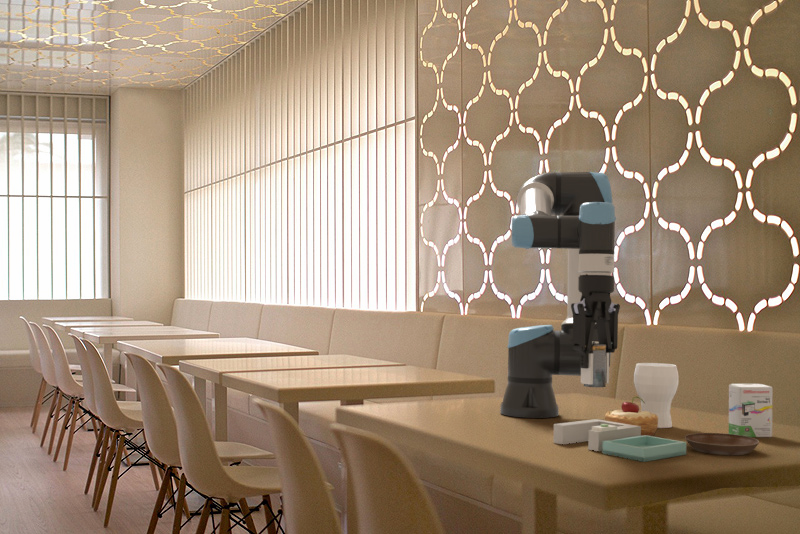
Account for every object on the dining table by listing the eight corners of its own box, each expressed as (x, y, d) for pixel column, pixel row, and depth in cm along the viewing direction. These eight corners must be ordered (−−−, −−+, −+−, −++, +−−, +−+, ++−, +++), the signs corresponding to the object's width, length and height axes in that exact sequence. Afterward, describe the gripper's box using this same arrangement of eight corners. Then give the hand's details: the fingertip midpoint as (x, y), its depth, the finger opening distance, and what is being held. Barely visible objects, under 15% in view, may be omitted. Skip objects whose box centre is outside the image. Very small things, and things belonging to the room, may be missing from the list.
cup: (680, 430, 213) (681, 367, 214) (634, 428, 215) (635, 365, 216) (675, 423, 224) (676, 363, 224) (632, 421, 226) (632, 362, 226)
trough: (602, 453, 181) (602, 441, 181) (645, 446, 189) (645, 435, 190) (643, 461, 173) (643, 448, 173) (686, 454, 182) (686, 442, 182)
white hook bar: (553, 442, 193) (553, 418, 193) (595, 436, 201) (596, 414, 201) (598, 451, 183) (598, 426, 183) (640, 445, 192) (641, 421, 192)
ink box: (739, 437, 204) (740, 386, 204) (727, 434, 209) (728, 383, 209) (773, 437, 206) (773, 385, 206) (760, 433, 211) (761, 383, 211)
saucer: (719, 460, 178) (719, 446, 178) (669, 447, 191) (669, 434, 191) (775, 455, 184) (775, 442, 184) (722, 443, 197) (722, 431, 197)
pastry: (594, 434, 209) (593, 395, 209) (636, 430, 213) (634, 393, 214) (626, 441, 198) (625, 400, 198) (669, 437, 202) (668, 397, 203)
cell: (579, 385, 192) (579, 341, 192) (593, 384, 195) (593, 340, 195) (596, 387, 188) (596, 342, 189) (610, 386, 191) (610, 341, 192)
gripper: (582, 273, 184) (581, 387, 183) (636, 275, 195) (634, 382, 194) (555, 273, 190) (553, 383, 189) (608, 275, 201) (607, 379, 200)
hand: (594, 383), depth 192 cm, fingers closed on cell, 4 cm apart
